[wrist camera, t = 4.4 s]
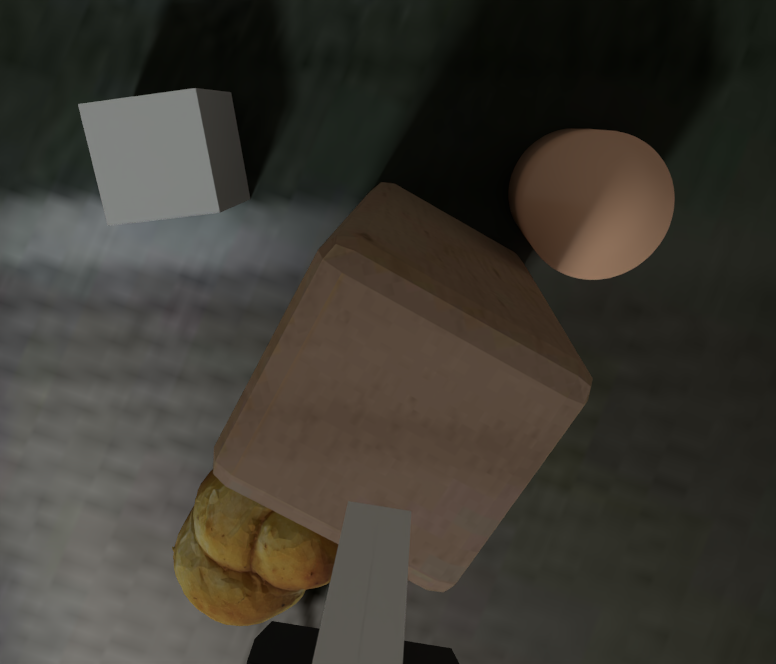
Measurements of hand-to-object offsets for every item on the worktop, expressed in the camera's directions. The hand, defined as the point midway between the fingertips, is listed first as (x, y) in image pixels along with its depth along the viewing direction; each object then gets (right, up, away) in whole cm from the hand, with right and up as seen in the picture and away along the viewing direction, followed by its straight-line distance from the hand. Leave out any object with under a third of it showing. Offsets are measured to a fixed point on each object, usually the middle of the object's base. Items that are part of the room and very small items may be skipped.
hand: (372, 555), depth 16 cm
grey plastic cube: (-11, +16, +23) cm, 30 cm away
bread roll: (-8, -7, +31) cm, 33 cm away
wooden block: (+2, +8, +25) cm, 26 cm away
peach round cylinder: (+11, +13, +22) cm, 28 cm away
